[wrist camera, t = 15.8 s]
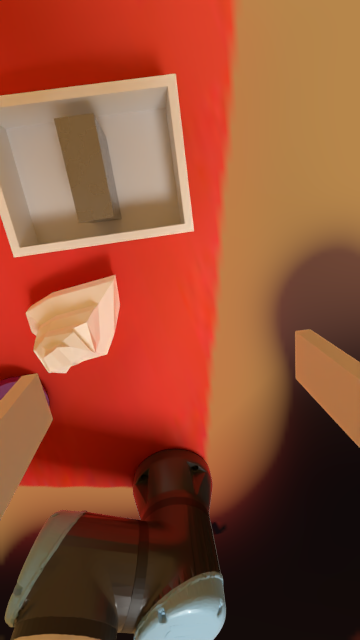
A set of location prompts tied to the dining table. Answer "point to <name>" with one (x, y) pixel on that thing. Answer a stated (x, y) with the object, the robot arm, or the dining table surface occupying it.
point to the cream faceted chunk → (75, 323)
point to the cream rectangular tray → (125, 154)
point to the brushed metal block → (88, 168)
